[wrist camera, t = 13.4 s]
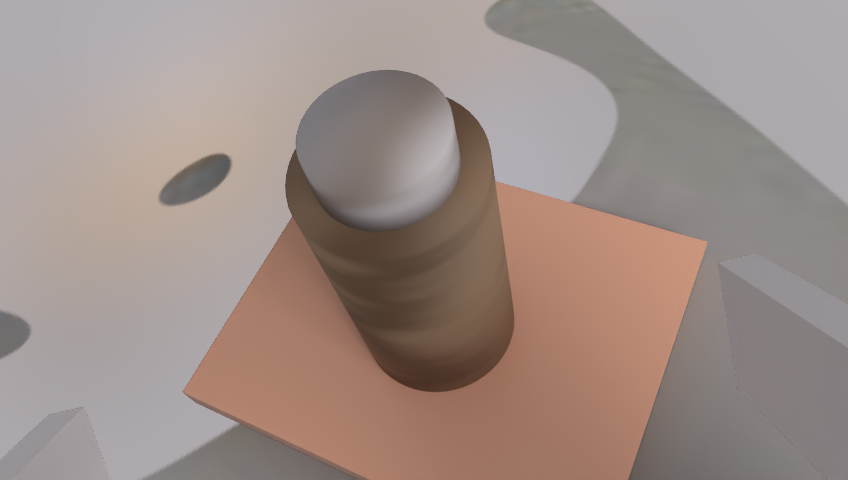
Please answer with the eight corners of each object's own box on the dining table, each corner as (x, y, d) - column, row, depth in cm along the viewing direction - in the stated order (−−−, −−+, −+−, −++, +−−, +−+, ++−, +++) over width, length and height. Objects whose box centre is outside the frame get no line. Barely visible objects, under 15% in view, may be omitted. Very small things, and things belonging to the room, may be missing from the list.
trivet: (195, 402, 37) (182, 392, 35) (348, 153, 43) (341, 137, 42) (591, 588, 30) (593, 584, 28) (702, 258, 36) (707, 242, 35)
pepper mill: (340, 360, 35) (224, 188, 23) (405, 238, 38) (330, 30, 26) (478, 415, 32) (427, 254, 21) (536, 280, 35) (520, 72, 24)
